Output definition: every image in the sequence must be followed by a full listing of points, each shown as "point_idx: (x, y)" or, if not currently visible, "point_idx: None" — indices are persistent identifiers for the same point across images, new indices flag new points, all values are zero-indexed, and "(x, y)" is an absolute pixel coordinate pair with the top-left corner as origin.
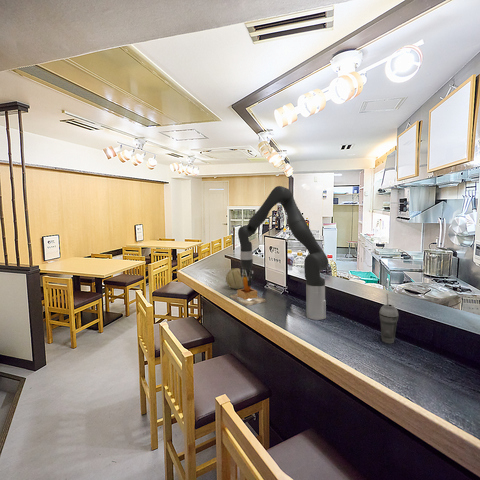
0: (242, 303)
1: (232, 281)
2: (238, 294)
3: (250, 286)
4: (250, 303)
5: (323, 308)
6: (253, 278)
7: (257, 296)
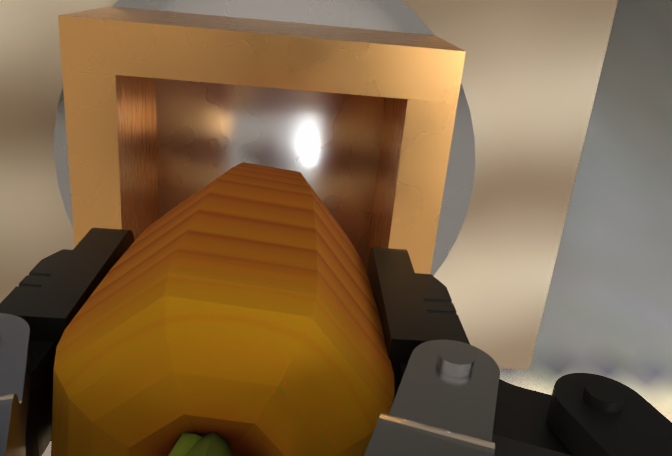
0: None
1: None
2: None
3: (319, 199)
4: (545, 295)
5: None
6: (663, 416)
7: (399, 3)
